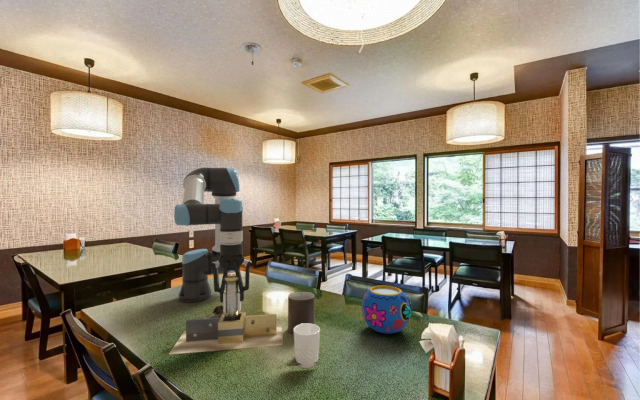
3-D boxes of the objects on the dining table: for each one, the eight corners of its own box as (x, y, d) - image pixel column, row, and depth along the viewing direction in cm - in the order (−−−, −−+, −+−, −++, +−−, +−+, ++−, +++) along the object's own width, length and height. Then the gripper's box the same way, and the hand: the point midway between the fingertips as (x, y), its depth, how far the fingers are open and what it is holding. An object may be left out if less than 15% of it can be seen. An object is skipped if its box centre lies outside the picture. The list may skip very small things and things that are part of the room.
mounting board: (184, 334, 105) (184, 330, 105) (281, 327, 111) (281, 323, 111) (168, 358, 90) (168, 354, 90) (282, 348, 95) (282, 344, 95)
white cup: (293, 355, 90) (293, 323, 90) (319, 354, 91) (318, 322, 91) (293, 370, 83) (293, 335, 83) (321, 369, 83) (321, 334, 83)
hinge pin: (225, 325, 102) (225, 274, 102) (241, 324, 103) (240, 273, 103) (222, 332, 97) (222, 278, 97) (239, 331, 98) (238, 277, 98)
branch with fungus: (199, 334, 106) (198, 319, 106) (188, 330, 110) (188, 315, 110) (238, 317, 120) (237, 303, 120) (227, 314, 124) (227, 300, 124)
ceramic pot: (411, 345, 96) (411, 300, 96) (358, 338, 102) (357, 295, 101) (411, 323, 113) (410, 284, 113) (365, 318, 118) (365, 281, 118)
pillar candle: (304, 342, 99) (304, 298, 99) (282, 335, 104) (282, 293, 104) (319, 331, 107) (319, 290, 107) (298, 325, 112) (298, 286, 112)
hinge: (190, 335, 102) (189, 315, 102) (276, 329, 106) (276, 309, 106) (182, 347, 94) (182, 325, 94) (276, 339, 98) (276, 318, 98)
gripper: (202, 245, 95) (203, 317, 95) (256, 244, 97) (256, 313, 98) (208, 242, 102) (208, 308, 103) (257, 240, 105) (258, 305, 105)
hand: (232, 310), depth 100 cm, fingers closed on hinge pin, 4 cm apart
